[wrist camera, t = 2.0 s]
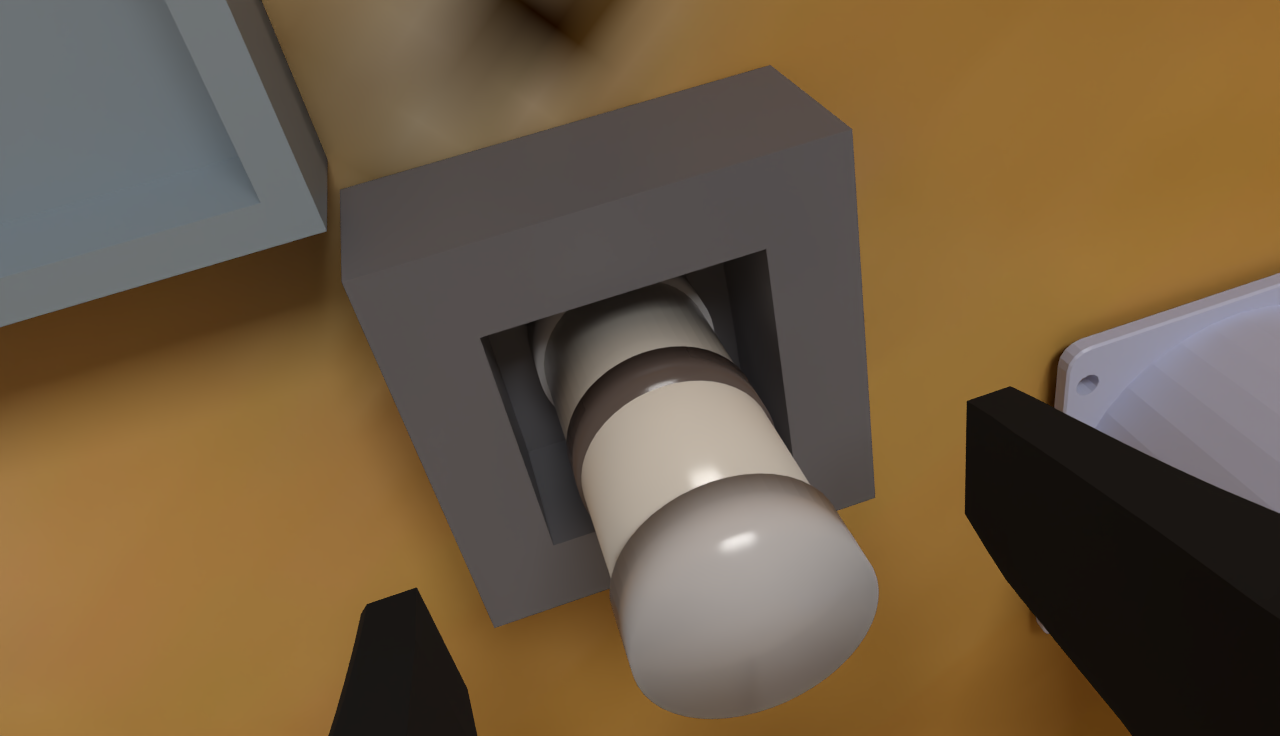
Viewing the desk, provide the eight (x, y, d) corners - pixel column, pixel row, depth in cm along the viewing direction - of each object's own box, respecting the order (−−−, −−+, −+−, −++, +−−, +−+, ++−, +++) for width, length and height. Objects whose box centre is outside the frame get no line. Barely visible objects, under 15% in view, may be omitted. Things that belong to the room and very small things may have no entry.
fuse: (708, 367, 18) (884, 667, 12) (551, 417, 17) (656, 749, 12) (681, 224, 16) (872, 497, 10) (506, 276, 16) (605, 588, 10)
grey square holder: (807, 401, 19) (875, 497, 17) (473, 511, 19) (494, 627, 16) (770, 65, 15) (852, 128, 13) (340, 189, 15) (341, 282, 12)
